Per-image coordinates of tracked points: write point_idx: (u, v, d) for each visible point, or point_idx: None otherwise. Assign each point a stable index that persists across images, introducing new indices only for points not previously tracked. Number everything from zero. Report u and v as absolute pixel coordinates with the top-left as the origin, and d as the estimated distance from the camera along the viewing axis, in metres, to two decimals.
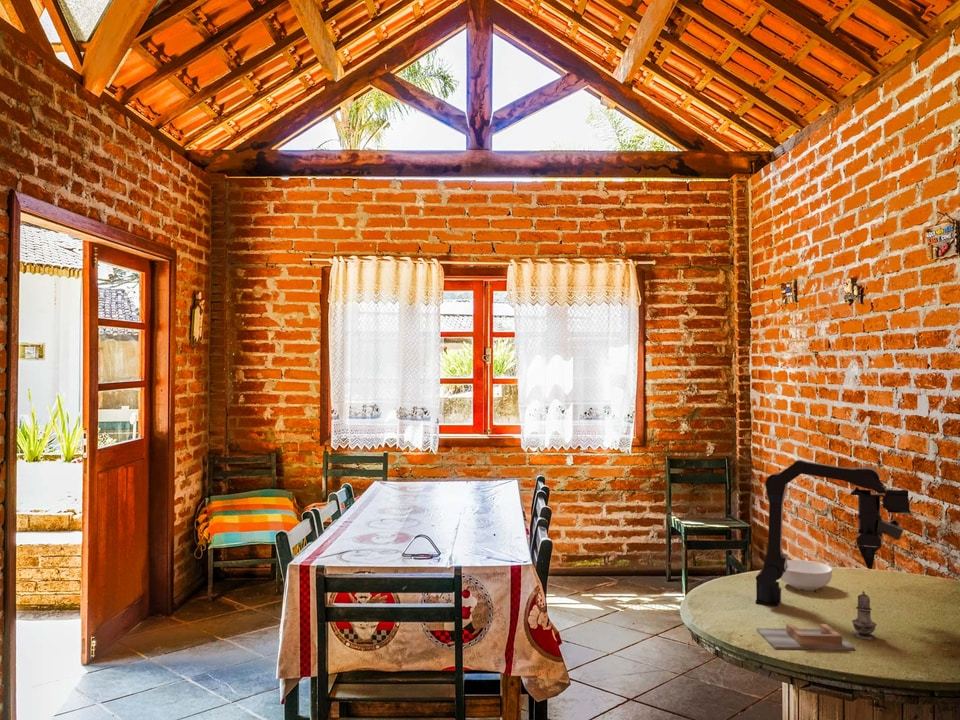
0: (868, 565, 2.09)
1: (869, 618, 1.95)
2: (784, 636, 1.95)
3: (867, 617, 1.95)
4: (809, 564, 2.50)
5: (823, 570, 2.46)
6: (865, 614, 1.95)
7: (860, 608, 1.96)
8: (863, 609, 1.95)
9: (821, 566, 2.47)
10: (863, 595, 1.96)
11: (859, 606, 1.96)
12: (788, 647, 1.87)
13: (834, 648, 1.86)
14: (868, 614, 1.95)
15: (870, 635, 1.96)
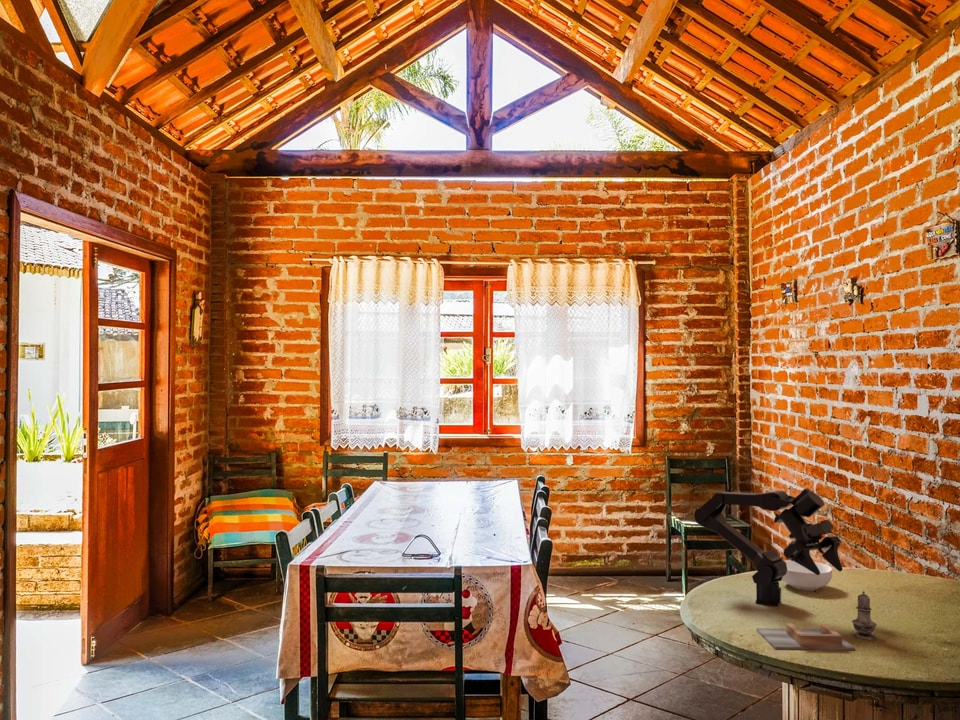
0: (815, 572, 2.08)
1: (869, 618, 1.95)
2: (784, 636, 1.95)
3: (867, 617, 1.95)
4: None
5: (823, 570, 2.46)
6: (865, 614, 1.95)
7: (860, 608, 1.96)
8: (863, 609, 1.95)
9: (821, 566, 2.47)
10: (863, 595, 1.96)
11: (859, 606, 1.96)
12: (788, 647, 1.87)
13: (834, 648, 1.86)
14: (868, 614, 1.95)
15: (870, 635, 1.96)
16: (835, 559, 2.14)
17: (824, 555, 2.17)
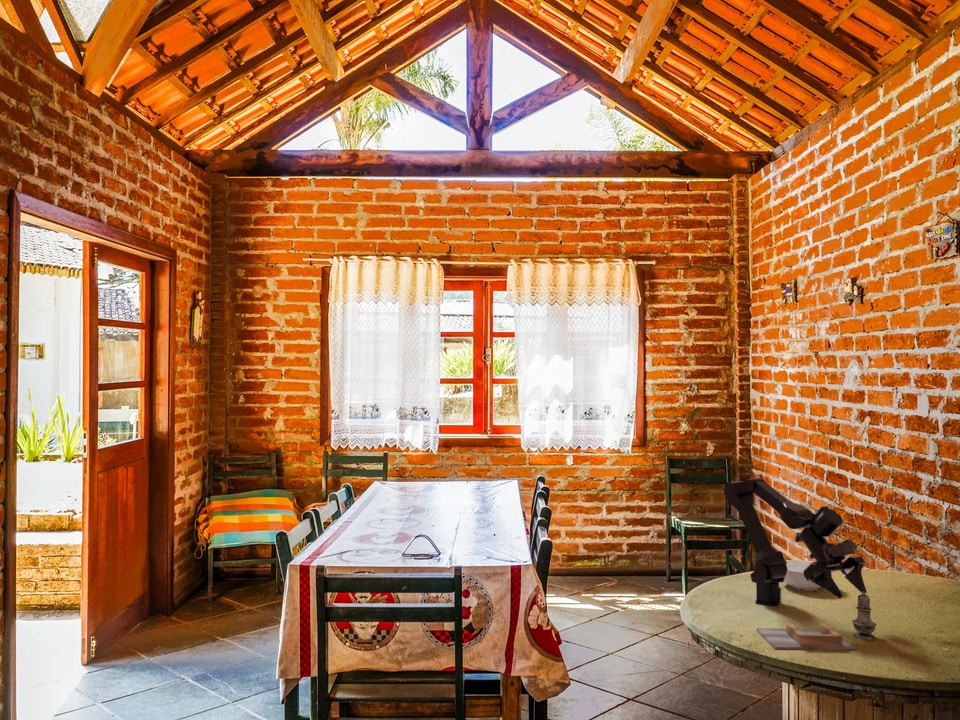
0: (837, 595, 1.98)
1: (869, 618, 1.95)
2: (784, 636, 1.95)
3: (867, 617, 1.95)
4: (809, 564, 2.50)
5: None
6: (865, 614, 1.95)
7: (860, 608, 1.96)
8: (863, 609, 1.95)
9: None
10: (863, 595, 1.96)
11: (859, 606, 1.96)
12: (788, 647, 1.87)
13: (834, 648, 1.86)
14: (868, 614, 1.95)
15: (870, 635, 1.96)
16: (859, 581, 2.03)
17: (847, 576, 2.07)
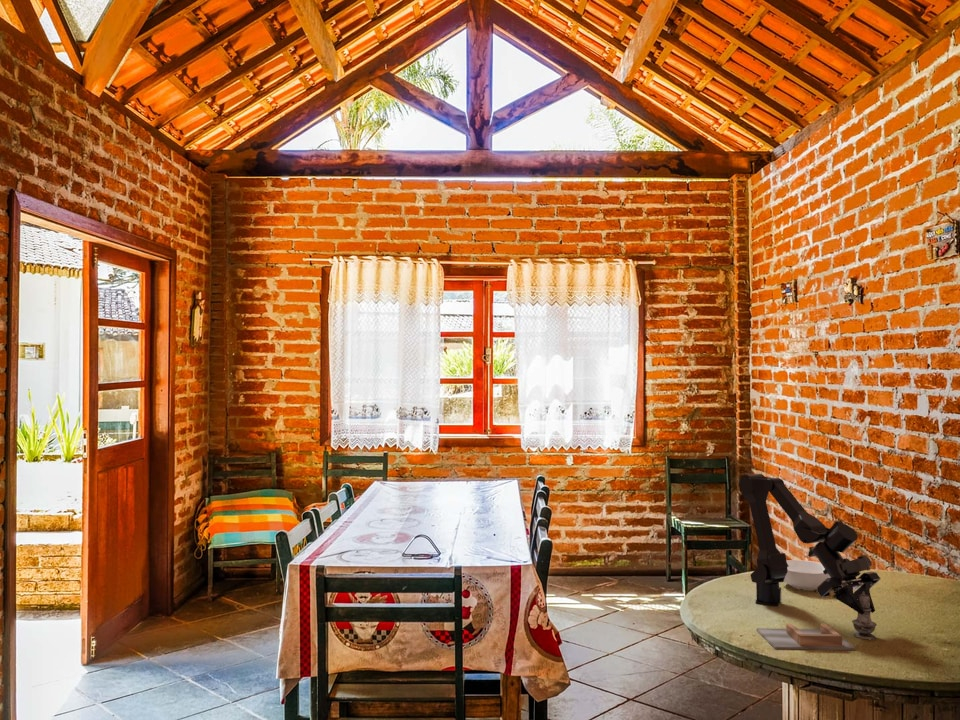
0: (859, 611, 1.95)
1: (869, 618, 1.95)
2: (784, 636, 1.95)
3: (867, 617, 1.95)
4: (809, 564, 2.50)
5: (823, 570, 2.46)
6: (865, 614, 1.95)
7: None
8: (863, 608, 1.95)
9: (821, 566, 2.47)
10: (863, 595, 1.96)
11: None
12: (788, 647, 1.87)
13: (834, 648, 1.86)
14: (868, 614, 1.95)
15: (870, 635, 1.96)
16: None
17: (855, 594, 2.02)
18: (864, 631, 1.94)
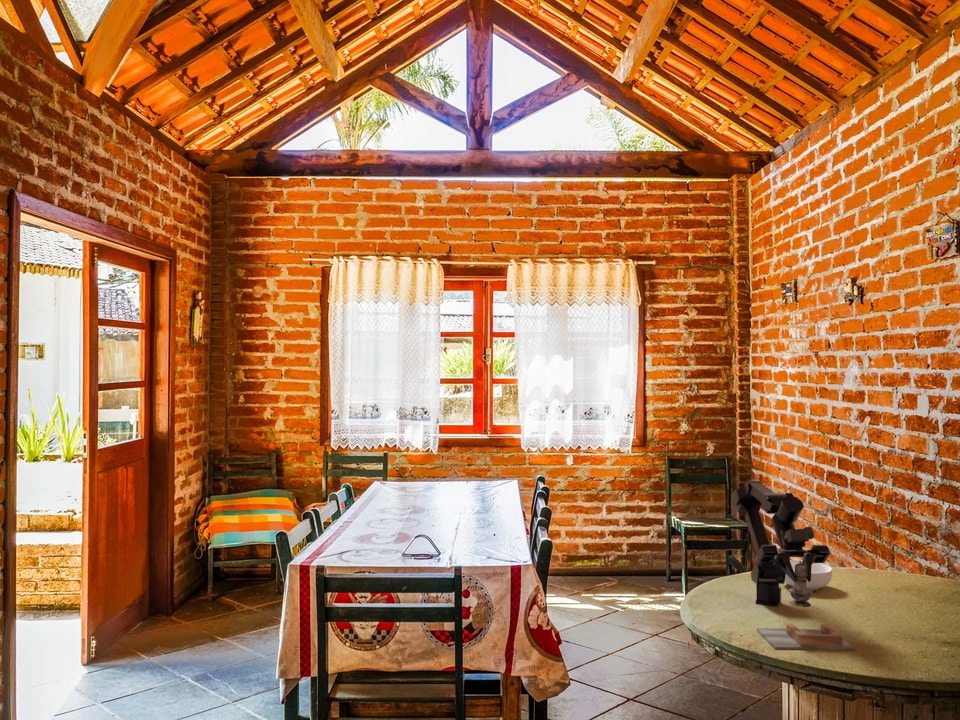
0: (792, 578, 2.03)
1: (803, 587, 2.02)
2: (784, 636, 1.95)
3: (800, 585, 2.02)
4: None
5: (823, 570, 2.46)
6: (799, 582, 2.02)
7: None
8: (797, 577, 2.02)
9: (821, 566, 2.47)
10: (799, 564, 2.03)
11: (795, 574, 2.04)
12: (788, 647, 1.87)
13: (834, 648, 1.86)
14: (802, 583, 2.02)
15: (805, 603, 2.02)
16: (806, 569, 2.04)
17: None
18: (796, 598, 2.02)
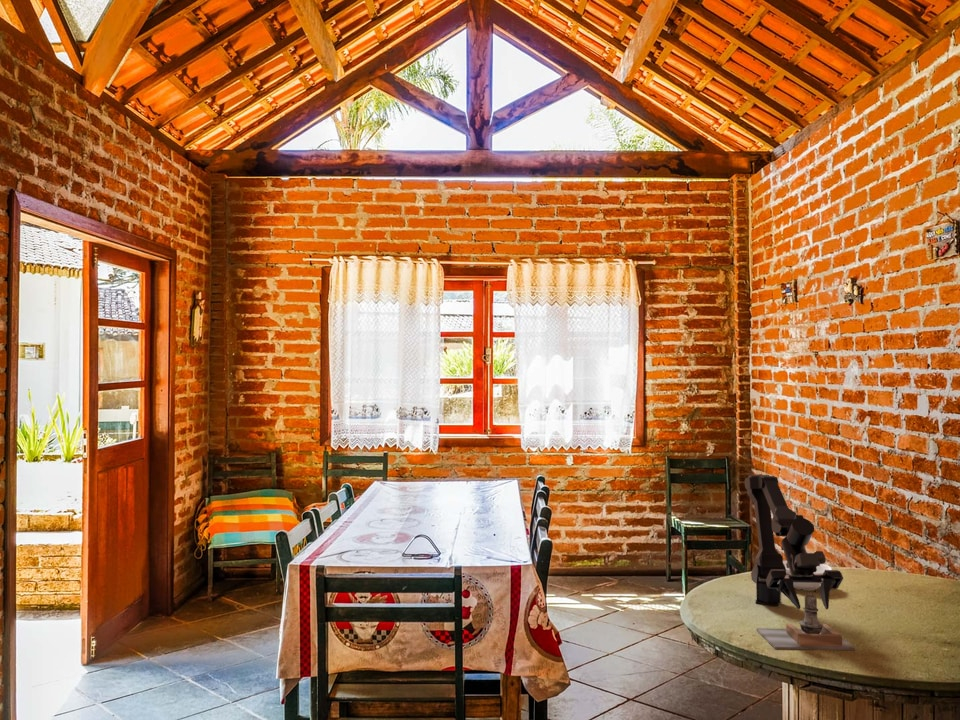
0: (796, 605, 1.94)
1: (814, 619, 1.92)
2: (784, 636, 1.95)
3: (811, 617, 1.93)
4: None
5: (823, 570, 2.46)
6: (809, 614, 1.93)
7: (805, 608, 1.94)
8: (807, 609, 1.93)
9: (821, 566, 2.47)
10: (809, 595, 1.94)
11: (805, 606, 1.94)
12: (788, 647, 1.87)
13: (834, 648, 1.86)
14: (812, 615, 1.92)
15: None
16: (824, 595, 1.94)
17: (819, 590, 1.98)
18: (806, 631, 1.92)
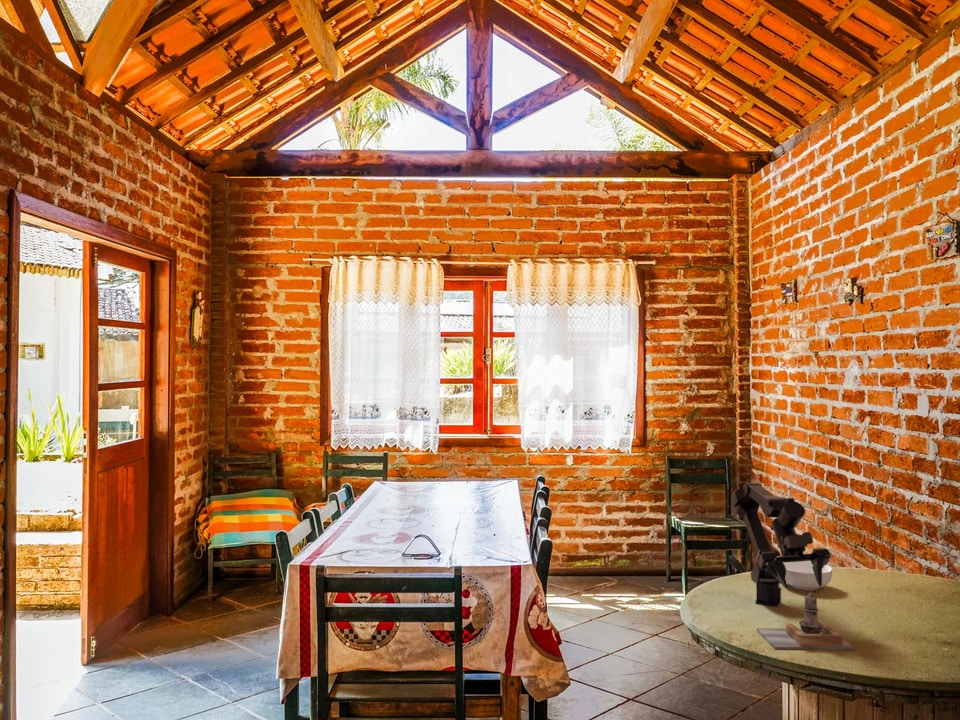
0: (783, 585, 2.04)
1: (814, 619, 1.92)
2: (784, 636, 1.95)
3: (811, 617, 1.93)
4: (809, 564, 2.50)
5: (823, 570, 2.46)
6: (809, 614, 1.93)
7: (805, 608, 1.94)
8: (807, 609, 1.93)
9: None
10: (809, 595, 1.94)
11: (805, 606, 1.94)
12: (788, 647, 1.87)
13: (834, 648, 1.86)
14: (812, 615, 1.92)
15: None
16: (817, 573, 2.05)
17: (813, 567, 2.09)
18: (806, 631, 1.92)
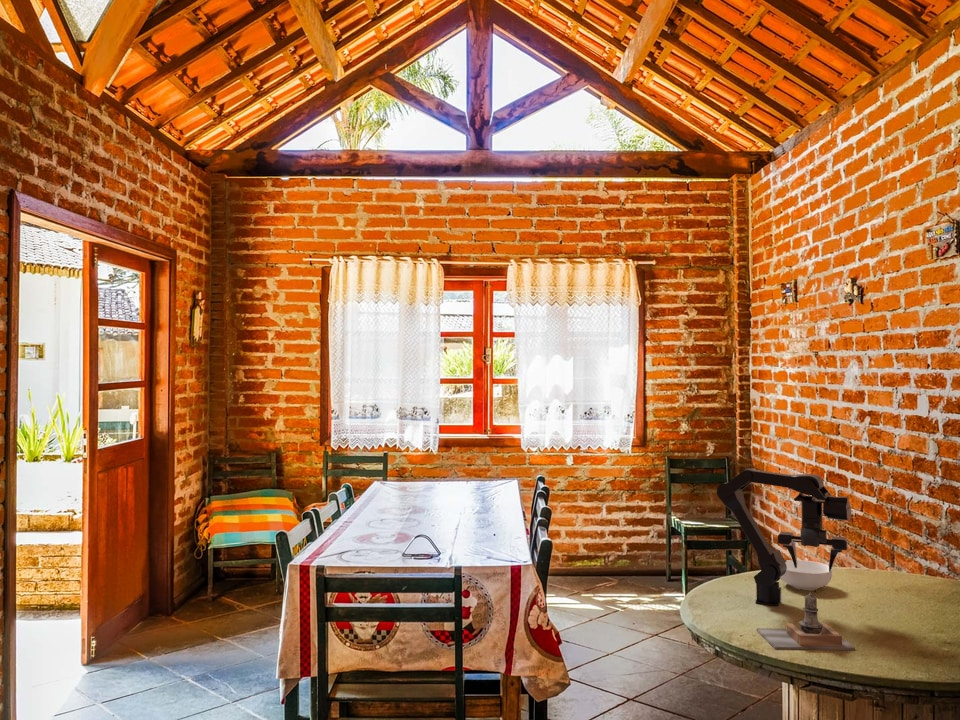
0: None
1: (814, 619, 1.92)
2: (784, 636, 1.95)
3: (811, 617, 1.93)
4: (809, 564, 2.50)
5: (823, 570, 2.46)
6: (809, 614, 1.93)
7: (805, 608, 1.94)
8: (807, 609, 1.93)
9: (821, 566, 2.47)
10: (809, 595, 1.94)
11: (805, 606, 1.94)
12: (788, 647, 1.87)
13: (834, 648, 1.86)
14: (812, 615, 1.92)
15: None
16: None
17: None
18: (806, 631, 1.92)
